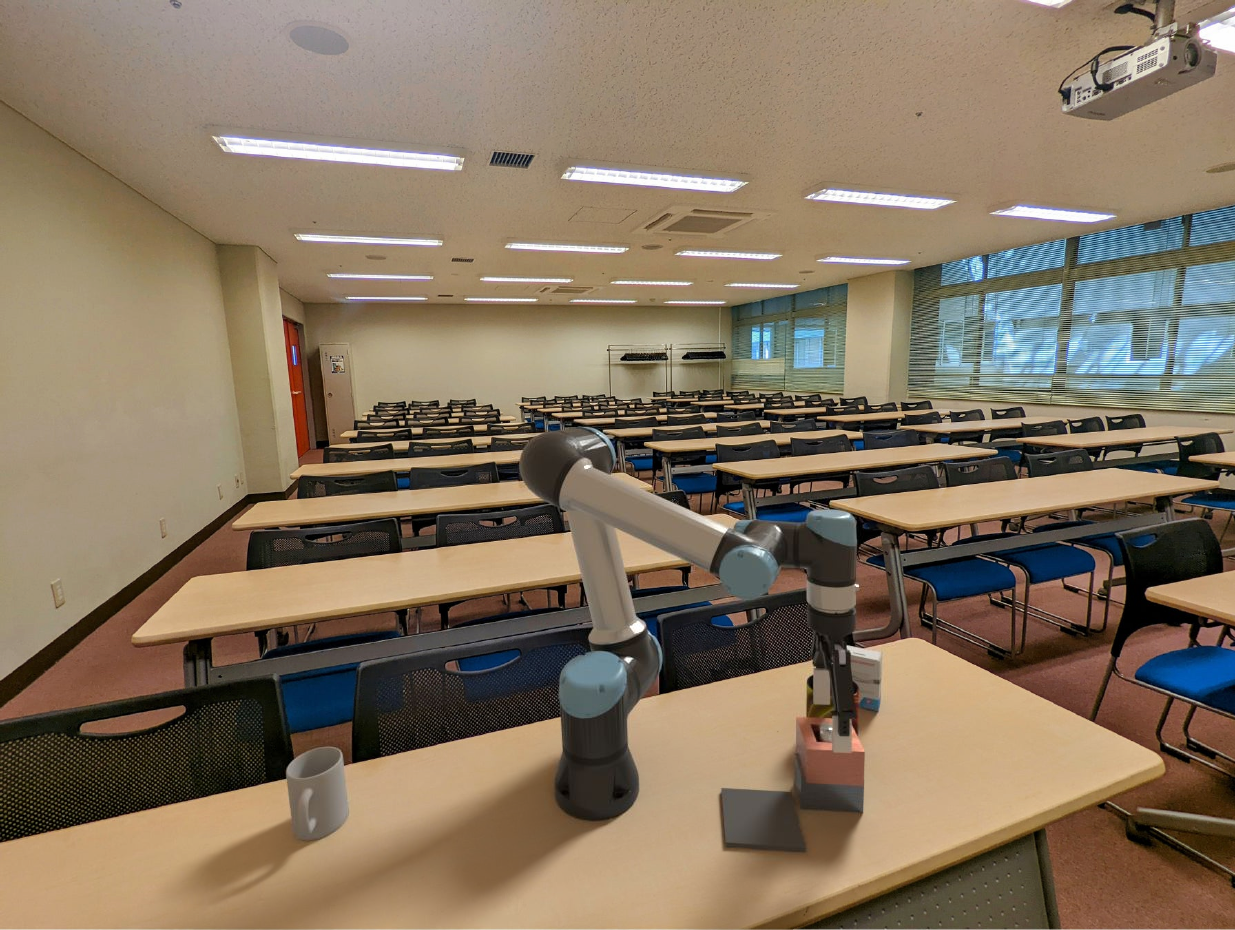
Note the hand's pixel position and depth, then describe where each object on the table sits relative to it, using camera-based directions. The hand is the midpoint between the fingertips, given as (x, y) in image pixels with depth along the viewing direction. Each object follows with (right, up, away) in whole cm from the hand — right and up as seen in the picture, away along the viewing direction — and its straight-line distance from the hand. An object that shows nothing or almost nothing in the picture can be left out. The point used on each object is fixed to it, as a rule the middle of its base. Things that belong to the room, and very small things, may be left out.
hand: (831, 725), depth 95 cm
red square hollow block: (0, -7, +1) cm, 8 cm away
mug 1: (-86, -17, -1) cm, 88 cm away
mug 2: (+6, -11, +19) cm, 23 cm away
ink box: (+18, -9, +31) cm, 37 cm away
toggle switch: (0, -13, +2) cm, 14 cm away
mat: (-12, -14, -2) cm, 19 cm away
